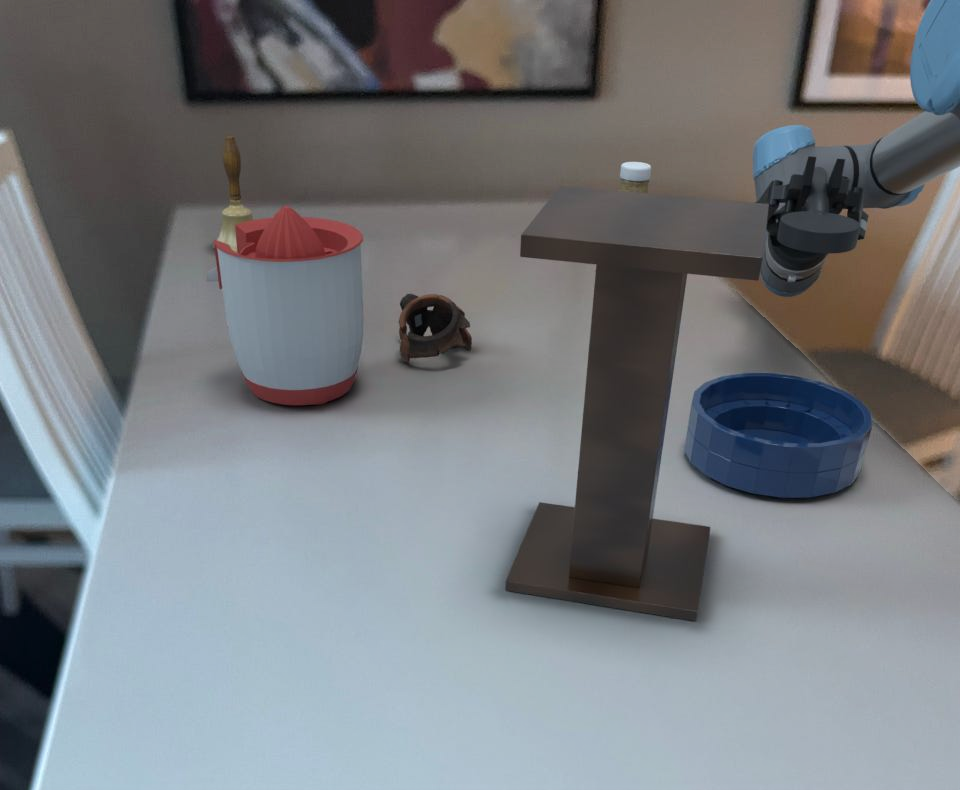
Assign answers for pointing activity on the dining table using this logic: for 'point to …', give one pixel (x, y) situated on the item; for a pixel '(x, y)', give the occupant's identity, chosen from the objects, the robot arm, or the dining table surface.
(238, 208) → the hand bell
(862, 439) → the bowl
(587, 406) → the wooden pedestal stand
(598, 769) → the dining table surface
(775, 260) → the robot arm
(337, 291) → the citrus juicer
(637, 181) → the sprinkles bottle
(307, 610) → the dining table surface
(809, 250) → the long-handled flat disc
